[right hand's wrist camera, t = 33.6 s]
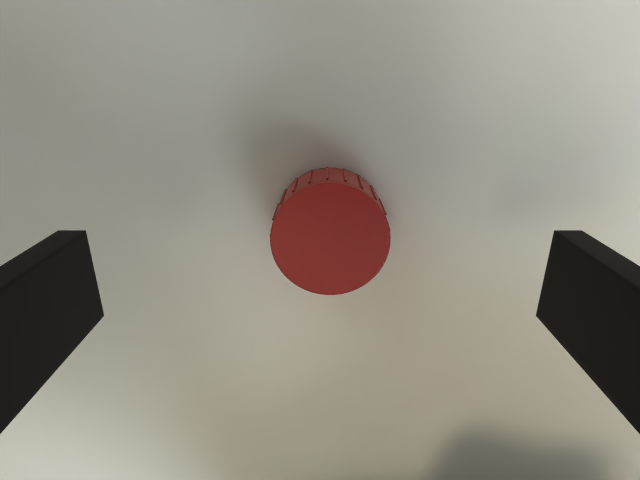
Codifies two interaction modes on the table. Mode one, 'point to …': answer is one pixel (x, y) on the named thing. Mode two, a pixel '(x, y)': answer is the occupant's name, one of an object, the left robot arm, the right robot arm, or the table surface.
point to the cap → (330, 232)
